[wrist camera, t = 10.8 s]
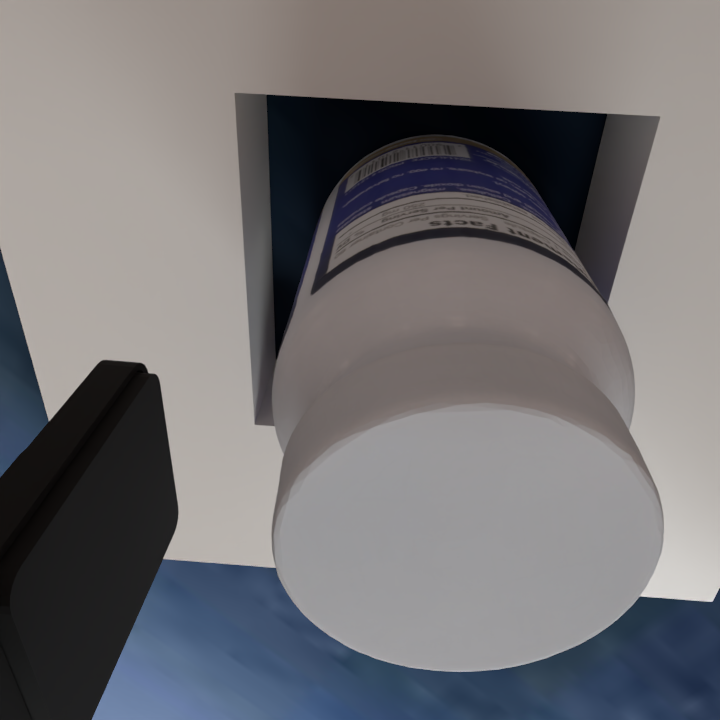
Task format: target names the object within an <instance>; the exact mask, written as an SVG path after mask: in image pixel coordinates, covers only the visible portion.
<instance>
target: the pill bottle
mask: <svg viewBox="0 0 720 720" xmlns="http://www.w3.org/2000/svg"><path fill="white" fill-rule="evenodd" d="M634 404H635V380H634V370H633V365H632V360H631V356H630V353H629V349H628V346H627V343H626V341H625V338H624V336H623V334H622V332H621V330H620V328H619V326H618V323H617V321H616V319H615V317H614V316H613V314H612V312H611V310H610V308H609V306H608V304H607V302H606V300H605V299H604V298H603V297H602V295H601V294H600V292H599V290H598V289H597V287H596V285H595V284H594V283H593V281H592V279H591V278H590V276H589V274H588V273H587V271H586V270H585V268H584V266H583V265H582V263H581V261H580V260H579V258H578V257H577V255H576V253H575V252H574V250H573V249H572V247H571V245H570V244H569V242H568V240H567V238H566V237H565V235H564V234H563V232H562V230H561V229H560V227H559V225H558V224H557V222H556V221H555V219H554V217H553V216H552V214H551V212H550V211H549V209H548V208H547V206H546V204H545V203H544V201H543V199H542V198H541V196H540V195H539V193H538V191H537V190H536V188H535V186H534V185H533V184H532V183H531V182H530V180H529V179H528V178H527V177H526V175H525V174H524V173H523V172H522V171H521V170H520V169H519V168H518V167H517V166H516V165H515V164H514V163H513V162H512V161H511V160H509V159H508V158H507V157H506V156H504V155H503V154H501V153H500V152H498V151H496V150H494V149H492V148H490V147H488V146H486V145H484V144H482V143H480V142H476V141H473V140H470V139H467V138H462V137H457V136H451V135H436V134H432V135H420V136H414V137H409V138H405V139H401V140H398V141H395V142H393V143H390V144H388V145H386V146H383V147H381V148H379V149H377V150H375V151H374V152H372V153H370V154H369V155H367V156H365V157H364V158H363V159H361V160H360V161H359V162H358V163H357V164H355V165H354V166H353V167H352V168H351V169H350V170H349V171H348V172H347V173H346V174H345V175H344V176H343V178H342V179H341V180H340V181H339V182H338V184H337V185H336V186H335V188H334V189H333V191H332V193H331V194H330V196H329V198H328V199H327V201H326V203H325V206H324V208H323V210H322V212H321V215H320V217H319V220H318V222H317V226H316V229H315V231H314V234H313V238H312V242H311V245H310V249H309V252H308V256H307V259H306V263H305V266H304V270H303V273H302V276H301V280H300V283H299V286H298V290H297V293H296V296H295V300H294V303H293V307H292V310H291V313H290V317H289V320H288V323H287V326H286V329H285V331H284V335H283V338H282V342H281V345H280V349H279V352H278V356H277V361H276V366H275V372H274V378H273V387H272V409H273V419H274V425H275V430H276V435H277V438H278V441H279V444H280V447H281V449H282V452H283V454H284V456H283V460H282V465H281V472H280V479H279V486H278V492H277V497H276V503H275V508H274V514H273V522H272V533H271V536H272V552H273V558H274V562H275V566H276V569H277V574H278V577H279V579H280V581H281V583H282V585H283V586H284V588H285V590H286V592H287V593H288V595H289V596H290V598H291V599H292V601H293V602H294V603H295V605H296V606H297V607H298V608H299V610H300V611H301V612H302V613H303V614H304V615H305V616H306V617H307V618H308V619H309V620H310V621H311V622H312V623H313V624H315V625H316V626H317V627H319V628H320V629H321V630H322V631H324V632H325V633H326V634H328V635H329V636H331V637H333V638H334V639H336V640H337V641H339V642H341V643H342V644H344V645H346V646H347V647H349V648H351V649H354V650H356V651H358V652H360V653H363V654H366V655H368V656H371V657H373V658H375V659H379V660H382V661H385V662H389V663H393V664H397V665H402V666H406V667H411V668H418V669H426V670H434V671H451V672H469V671H484V670H496V669H503V668H509V667H515V666H519V665H523V664H527V663H531V662H534V661H538V660H541V659H545V658H548V657H550V656H553V655H555V654H558V653H560V652H563V651H565V650H568V649H570V648H572V647H575V646H577V645H579V644H581V643H583V642H585V641H586V640H588V639H590V638H592V637H593V636H595V635H597V634H598V633H600V632H601V631H603V630H604V629H606V628H607V627H608V626H610V625H611V624H612V623H614V622H615V621H616V620H618V619H619V618H620V617H621V616H622V615H623V614H624V613H625V612H626V611H627V610H628V609H629V608H630V607H631V606H632V605H633V604H634V603H635V601H636V600H637V599H638V598H639V596H640V595H641V593H642V592H643V591H644V589H645V588H646V586H647V585H648V583H649V581H650V579H651V577H652V575H653V574H654V571H655V569H656V566H657V563H658V561H659V558H660V556H661V552H662V548H663V541H664V537H663V535H664V515H663V510H662V504H661V500H660V496H659V492H658V489H657V487H656V485H655V483H654V481H653V478H652V476H651V474H650V472H649V470H648V468H647V465H646V463H645V461H644V459H643V457H642V455H641V452H640V450H639V448H638V446H637V445H636V443H635V441H634V439H633V437H632V435H631V434H630V432H629V429H630V426H631V422H632V417H633V411H634Z"/></svg>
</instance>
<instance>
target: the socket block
mask: <svg viewBox="0 0 720 720" xmlns="http://www.w3.org/2000/svg"><path fill="white" fill-rule="evenodd" d="M267 95H285V96H303V97H321V98H339V99H357V100H374V101H392V102H410V103H428V104H446V105H464V106H482V107H499V108H517V109H535V110H553V111H571V112H589V113H606V114H607V117H606V121H605V126H604V130H603V134H602V138H601V142H600V147H599V151H598V155H597V159H596V163H595V167H594V172H593V176H592V180H591V184H590V188H589V193H588V197H587V201H586V205H585V209H584V213H583V218H582V222H581V226H580V230H579V234H578V239H577V243H576V247H575V251H574V252H575V253H576V255H577V257H578V258H579V260H580V261H581V263H582V265H583V266H584V268H585V270H586V271H587V273H588V274H589V276H590V278H591V279H592V281H593V283H594V284H595V285H596V287H597V289H598V290H599V292H600V294H601V295H602V297H603V298H604V299H605V300H606V302H607V304H608V306H609V308H610V310H611V312H612V314H613V316H614V317H615V319H616V321H617V323H618V326H619V328H620V330H621V332H622V334H623V336H624V338H625V341H626V343H627V346H628V349H629V353H630V356H631V360H632V365H633V370H634V380H635V404H634V411H633V417H632V422H631V426H630V429H629V432H630V434H631V435H632V437H633V439H634V441H635V443H636V445H637V446H638V448H639V450H640V452H641V455H642V457H643V459H644V461H645V463H646V465H647V468H648V470H649V472H650V474H651V476H652V478H653V481H654V483H655V485H656V487H657V489H658V492H659V496H660V500H661V504H662V510H663V515H664V535H663V537H664V541H663V548H662V552H661V556H660V558H659V561H658V563H657V566H656V569H655V571H654V574H653V575H652V577H651V579H650V581H649V583H648V585H647V586H646V588H645V589H644V591H643V592H642V593H641V595H640V596H643V597H656V598H669V599H682V600H694V601H707V602H712V601H713V599H714V598H715V596H716V594H717V592H718V590H719V588H720V0H0V248H1V252H2V256H3V259H4V263H5V266H6V270H7V273H8V277H9V280H10V284H11V288H12V291H13V295H14V298H15V302H16V305H17V309H18V312H19V316H20V320H21V323H22V327H23V330H24V334H25V337H26V341H27V345H28V348H29V352H30V355H31V359H32V362H33V366H34V369H35V373H36V377H37V380H38V384H39V387H40V391H41V394H42V398H43V401H44V405H45V409H46V412H47V416H48V419H49V421H50V420H51V419H52V418H53V416H54V415H55V414H56V413H57V412H58V410H59V409H60V408H61V407H62V406H63V404H64V403H65V402H66V401H67V400H68V398H69V397H70V396H71V395H72V394H73V393H74V391H75V390H76V389H77V388H78V387H79V385H80V384H81V383H82V382H83V381H84V379H85V378H86V377H87V376H88V375H89V373H90V372H91V371H92V370H93V369H94V367H95V366H96V365H97V364H98V363H99V362H100V361H102V360H115V361H127V362H139V363H143V364H144V365H145V366H146V368H147V370H148V373H152V374H156V375H157V376H158V378H159V381H160V386H161V393H162V400H163V407H164V413H165V420H166V427H167V434H168V440H169V447H170V454H171V461H172V468H173V474H174V481H175V488H176V495H177V501H178V511H179V512H178V522H177V526H176V530H175V533H174V535H173V537H172V540H171V542H170V544H169V546H168V549H167V551H166V553H165V555H164V558H163V559H170V560H183V561H196V562H209V563H222V564H234V565H247V566H260V567H273V568H276V566H275V562H274V558H273V552H272V536H271V533H272V522H273V514H274V508H275V503H276V497H277V492H278V486H279V479H280V472H281V465H282V460H283V456H284V454H283V452H282V449H281V447H280V444H279V441H278V438H277V435H276V430H275V425H274V419H273V409H272V387H273V378H274V372H275V366H276V361H277V360H276V349H275V321H274V292H273V264H272V236H271V207H270V179H269V150H268V122H267Z"/></svg>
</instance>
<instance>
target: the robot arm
mask: <svg viewBox="0 0 720 720" xmlns="http://www.w3.org/2000/svg"><path fill="white" fill-rule="evenodd" d="M178 512H179V511H178V501H177V495H176V488H175V481H174V474H173V468H172V461H171V454H170V447H169V440H168V434H167V427H166V420H165V413H164V407H163V400H162V393H161V386H160V381H159V378H158V376H157V375H156V374H152V373H148V370H147V368H146V366H145V365H144V364H143V363H139V362H127V361H115V360H102V361H100V362H99V363H98V364H97V365H96V366H95V367H94V369H93V370H92V371H91V372H90V373H89V375H88V376H87V377H86V378H85V379H84V381H83V382H82V383H81V384H80V385H79V387H78V388H77V389H76V390H75V391H74V393H73V394H72V395H71V396H70V397H69V398H68V400H67V401H66V402H65V403H64V404H63V406H62V407H61V408H60V409H59V410H58V412H57V413H56V414H55V415H54V416H53V418H52V419H51V420H50V421H49V422H48V424H47V425H46V426H45V427H44V428H43V430H42V431H41V432H40V433H39V434H38V436H37V437H36V438H35V439H34V440H33V442H32V443H31V444H30V445H29V446H28V447H27V449H25V450H24V451H23V452H22V453H21V454H20V455H19V456H18V457H17V459H16V460H15V461H14V462H13V463H12V464H11V466H10V467H9V468H8V469H7V470H6V472H5V473H4V474H3V475H2V476H1V478H0V720H92V717H93V715H94V713H95V711H96V708H97V706H98V704H99V702H100V699H101V697H102V695H103V693H104V690H105V688H106V686H107V684H108V681H109V679H110V677H111V675H112V672H113V670H114V668H115V666H116V663H117V661H118V659H119V657H120V654H121V652H122V650H123V648H124V645H125V643H126V641H127V639H128V636H129V634H130V632H131V630H132V627H133V625H134V623H135V621H136V618H137V616H138V614H139V612H140V609H141V607H142V605H143V603H144V600H145V598H146V596H147V594H148V591H149V589H150V587H151V585H152V582H153V580H154V578H155V576H156V573H157V571H158V569H159V567H160V564H161V562H162V560H163V558H164V555H165V553H166V551H167V549H168V546H169V544H170V542H171V540H172V537H173V535H174V533H175V530H176V526H177V522H178Z"/></svg>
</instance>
